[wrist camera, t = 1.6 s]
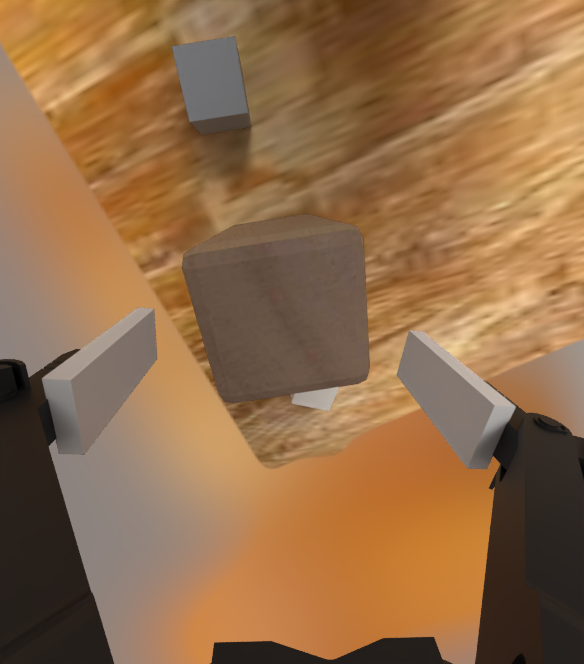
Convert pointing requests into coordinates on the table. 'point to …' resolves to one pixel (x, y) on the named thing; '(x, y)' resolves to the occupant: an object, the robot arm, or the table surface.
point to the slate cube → (212, 85)
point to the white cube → (315, 398)
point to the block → (281, 306)
